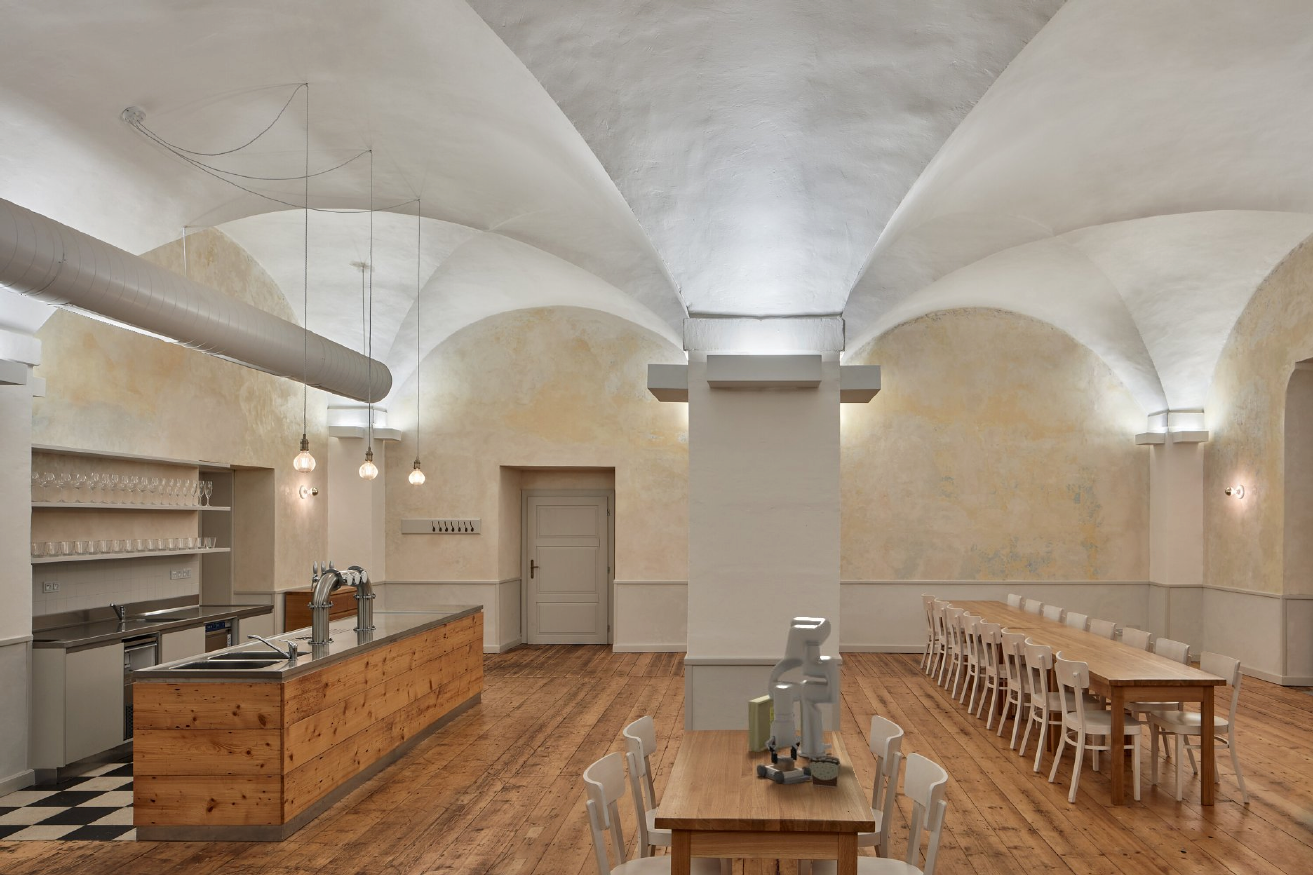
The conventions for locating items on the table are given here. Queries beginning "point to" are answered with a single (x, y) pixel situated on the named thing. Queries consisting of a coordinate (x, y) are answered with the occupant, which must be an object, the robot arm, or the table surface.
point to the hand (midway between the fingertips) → (784, 761)
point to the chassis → (785, 774)
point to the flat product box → (760, 722)
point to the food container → (824, 770)
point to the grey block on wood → (785, 764)
